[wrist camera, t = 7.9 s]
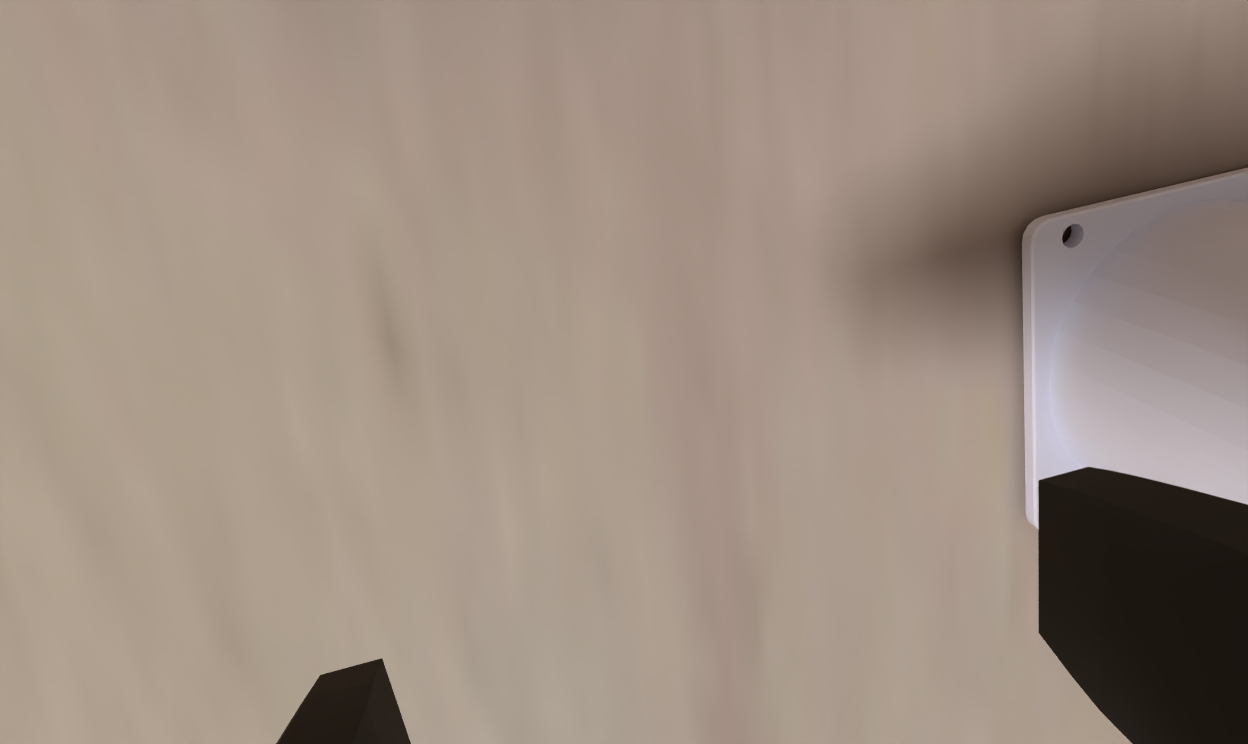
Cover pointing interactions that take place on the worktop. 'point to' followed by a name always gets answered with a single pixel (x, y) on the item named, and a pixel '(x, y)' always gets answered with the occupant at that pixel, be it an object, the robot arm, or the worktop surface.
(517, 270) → the worktop surface
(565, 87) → the worktop surface
